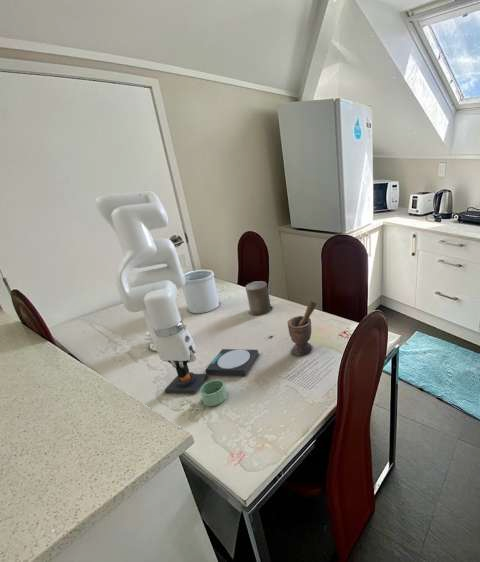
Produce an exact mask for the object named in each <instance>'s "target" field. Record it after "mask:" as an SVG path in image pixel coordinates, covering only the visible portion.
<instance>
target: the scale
mask: <svg viewBox="0 0 480 562" xmlns="http://www.w3.org/2000/svg"><path fill="white" fill-rule="evenodd" d="M259 354H260V353H259V349H243V348H242V349H239V348H237V349H236V348H235V349H234V348H222V349H221V350H220V351H219V353H217V355H216V356H215V357H214V359H213V360H212V361H211V362H210V363H209V365H208V366H207V367H206V368H205V374H207V375H208V376H228V377H230V376H231V377H232V376H233V377H234V376H235V377H246V376H247V375H248V373H249V372H250V370H251V368H252V367H253V365H254V364H255V362H256V361H257V360H258V357H259V356H260V355H259Z"/></svg>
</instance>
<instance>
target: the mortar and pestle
mask: <svg viewBox="0 0 480 562" xmlns="http://www.w3.org/2000/svg"><path fill="white" fill-rule="evenodd" d="M316 307H317V301H315V300H312V299H311V300H310V301H309V302H308V304H307V307H306V309H305V313H304V314H303V315H298V316H297V315H296V316H294V317H291V318H290V319H288V320H287V329H288V335H289V337H290V340H291V341H292V342H293V343H294V345H293V346H292V354H294V355H295V356H305V355H307V354H309V353H310V352H311V351H312V350H313V347H312V345H311V343H310V342H309V341H310V340H311V336H312V320H311V318H310V317H311V315H312V314H313V312H314V311H315V309H316Z"/></svg>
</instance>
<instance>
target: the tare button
mask: <svg viewBox="0 0 480 562" xmlns="http://www.w3.org/2000/svg"><path fill="white" fill-rule="evenodd" d="M189 379H190V375H189V373H188V374H187V375H186V376H185V377H184V378H182V377H181V378H180V380H181V381H183V382H184V381H187V380H189Z"/></svg>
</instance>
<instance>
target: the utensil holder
mask: <svg viewBox="0 0 480 562" xmlns="http://www.w3.org/2000/svg"><path fill="white" fill-rule="evenodd" d="M183 273H184V272H183ZM184 277H185V285H184V286H183V287H182V291H183V295H184V298H185V302H186V305H187V307H188V308H187V309H188V311H189V312H190V313H193V314H202V313H203V314H205V313H208V312H211V311H213V310H215V309H217V308H218V307H219V305H220V300H219V295H218V294H219V293H218V289H217V285H216V281H215V273H214V271H213V270H211V269H196V270H191V271H187V272H185V273H184Z"/></svg>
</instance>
